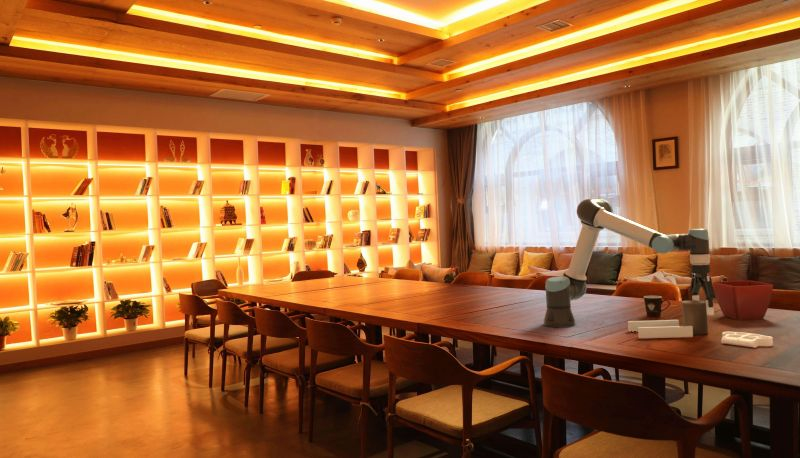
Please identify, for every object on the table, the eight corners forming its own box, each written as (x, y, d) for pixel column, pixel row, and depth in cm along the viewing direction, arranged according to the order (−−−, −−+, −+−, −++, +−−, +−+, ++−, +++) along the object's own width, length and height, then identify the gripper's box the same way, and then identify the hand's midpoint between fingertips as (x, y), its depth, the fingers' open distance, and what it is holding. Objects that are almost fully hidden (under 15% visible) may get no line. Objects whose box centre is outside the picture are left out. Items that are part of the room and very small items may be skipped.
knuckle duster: (713, 343, 223) (729, 337, 232) (763, 350, 209) (778, 344, 218) (712, 335, 223) (728, 329, 232) (762, 341, 209) (777, 335, 218)
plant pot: (776, 319, 261) (774, 284, 261) (735, 321, 261) (733, 286, 261) (751, 313, 280) (749, 280, 280) (713, 315, 280) (711, 281, 280)
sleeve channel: (639, 338, 237) (638, 327, 237) (628, 331, 253) (627, 321, 252) (692, 336, 235) (692, 326, 235) (678, 329, 250) (677, 319, 250)
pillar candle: (711, 335, 237) (709, 300, 237) (686, 334, 239) (685, 300, 239) (703, 330, 246) (702, 297, 246) (680, 330, 248) (678, 297, 248)
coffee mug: (640, 316, 287) (640, 297, 287) (652, 314, 290) (651, 295, 290) (659, 319, 276) (658, 299, 276) (671, 317, 280) (671, 297, 280)
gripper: (723, 265, 229) (726, 316, 229) (696, 261, 254) (699, 307, 254) (704, 266, 230) (707, 317, 230) (679, 262, 254) (682, 308, 254)
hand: (703, 312), depth 242 cm, fingers open, 13 cm apart
